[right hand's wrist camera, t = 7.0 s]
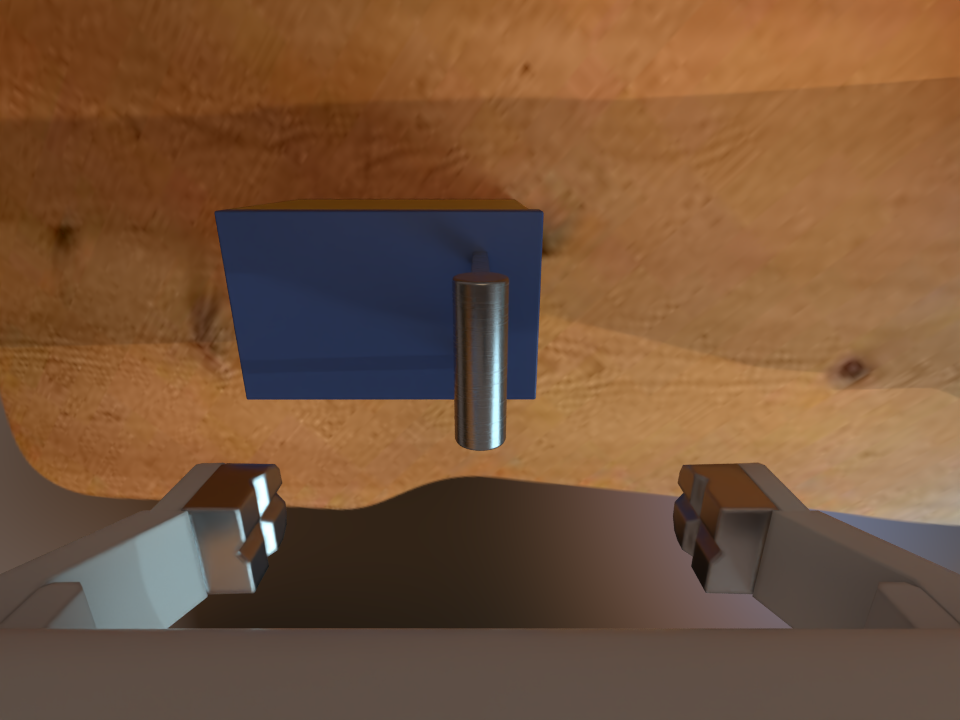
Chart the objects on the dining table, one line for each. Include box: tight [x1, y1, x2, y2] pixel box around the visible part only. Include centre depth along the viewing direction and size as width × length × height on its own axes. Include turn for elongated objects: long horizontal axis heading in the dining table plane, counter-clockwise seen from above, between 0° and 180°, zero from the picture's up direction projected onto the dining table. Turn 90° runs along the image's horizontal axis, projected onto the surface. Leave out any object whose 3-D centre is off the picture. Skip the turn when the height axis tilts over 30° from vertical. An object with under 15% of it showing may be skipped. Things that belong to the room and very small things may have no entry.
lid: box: [215, 209, 543, 451], centre depth 21 cm, size 14×9×9 cm, turn 90°
